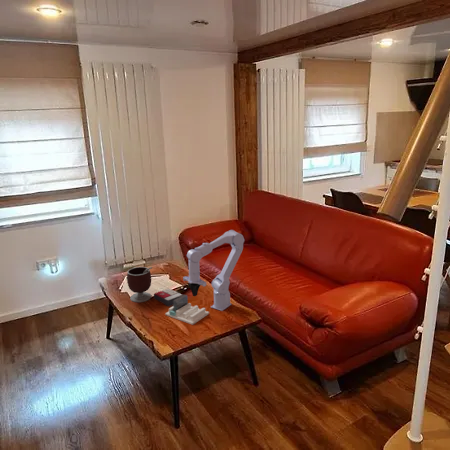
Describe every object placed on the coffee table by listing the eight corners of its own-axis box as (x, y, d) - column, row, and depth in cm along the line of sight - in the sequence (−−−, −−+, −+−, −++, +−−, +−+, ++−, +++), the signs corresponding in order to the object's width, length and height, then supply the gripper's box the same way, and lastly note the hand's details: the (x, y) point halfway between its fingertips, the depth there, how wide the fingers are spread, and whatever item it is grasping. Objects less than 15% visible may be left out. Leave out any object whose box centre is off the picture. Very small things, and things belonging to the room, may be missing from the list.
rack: (182, 304, 221) (182, 299, 220) (209, 313, 210) (208, 307, 210) (165, 315, 210) (165, 309, 209) (192, 324, 199) (192, 318, 198)
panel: (184, 305, 217) (183, 294, 216) (187, 307, 216) (187, 295, 214) (173, 312, 210) (173, 300, 208) (177, 313, 209) (176, 301, 207)
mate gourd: (124, 301, 226) (121, 269, 221) (135, 291, 239) (132, 261, 234) (149, 304, 223) (146, 271, 217) (158, 293, 236) (156, 263, 230)
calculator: (168, 287, 236) (183, 293, 226) (169, 294, 237) (183, 300, 227) (153, 293, 229) (167, 299, 218) (153, 299, 230) (168, 306, 219)
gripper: (178, 271, 206) (179, 294, 210) (200, 277, 198) (200, 301, 202) (187, 267, 212) (188, 290, 215) (208, 272, 204) (209, 296, 207)
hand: (194, 295), depth 209 cm, fingers closed
